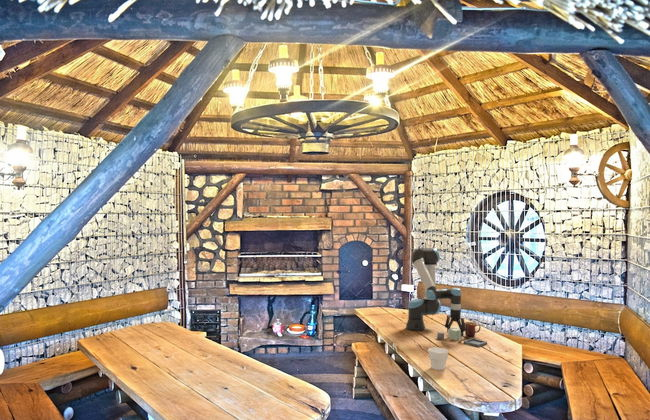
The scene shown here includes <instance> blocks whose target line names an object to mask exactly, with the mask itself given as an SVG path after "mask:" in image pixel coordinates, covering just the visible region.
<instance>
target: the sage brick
mask: <svg viewBox="0 0 650 420" xmlns="http://www.w3.org/2000/svg"><path fill="white" fill-rule="evenodd" d="M458 339H459V340H460V329H451V330H450V340H453V341H458Z"/></svg>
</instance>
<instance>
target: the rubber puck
mask: <svg viewBox="0 0 650 420" xmlns="http://www.w3.org/2000/svg"><path fill="white" fill-rule="evenodd" d="M436 336H437V337H436V339H437V340H445V333H444V332H440V331H439V332H437V335H436Z"/></svg>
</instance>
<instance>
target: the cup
mask: <svg viewBox="0 0 650 420" xmlns="http://www.w3.org/2000/svg"><path fill="white" fill-rule="evenodd" d="M448 357H449V349H447V348H444V347H437V346H436V347H434V346H433V347H429V348H428V358H429V360H430V365H431V367H430V368H431V369H433V370H435V371H436V370H437V371H443V370H445V369H446V363H447V359H448Z"/></svg>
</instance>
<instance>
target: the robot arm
mask: <svg viewBox="0 0 650 420" xmlns="http://www.w3.org/2000/svg"><path fill="white" fill-rule="evenodd" d="M440 259H441V256H440V252H439V251H438V249H437V248H435V247H427V248H423V247H422V248H421V247H420V248H419V247H418V248H417V249H415V250H414V251H412V254H411V263H412V265H413V267H414V268H416V271H417V273H418V275H419V277H420V279H421V282H422V284H423V286H424V297H423V298H414V299H410V300H409V301H408V306H407V308H408V312H407V313H408V318H407V322H406V325H405V329H406V330H407V331H411V332H424V331H425V330H426V326H425V322H424V316H434V315H438V314H439V313H440V312H441V309H442V304H441V301H440V300H450V312H449V313H450V314H447V315H446V321H445V323H444V328H446V334H447V338H450V330H451V329H450V328H452V325H453V323H454V322H455V323H456V324H457V326H458V328H459V330H460V339H459V341H463V336H464V333H465V331H466V328H465V317H462V316H461V313H462V311H461V309H462V307H461V306H462V290H461V288H459V287H452V288H447V287H443V288H440V289H437V286H436V267H437V265H438V262H439V261H440Z"/></svg>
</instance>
